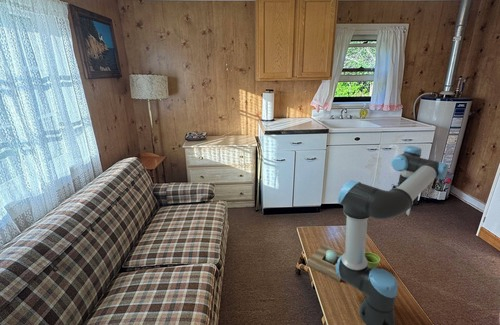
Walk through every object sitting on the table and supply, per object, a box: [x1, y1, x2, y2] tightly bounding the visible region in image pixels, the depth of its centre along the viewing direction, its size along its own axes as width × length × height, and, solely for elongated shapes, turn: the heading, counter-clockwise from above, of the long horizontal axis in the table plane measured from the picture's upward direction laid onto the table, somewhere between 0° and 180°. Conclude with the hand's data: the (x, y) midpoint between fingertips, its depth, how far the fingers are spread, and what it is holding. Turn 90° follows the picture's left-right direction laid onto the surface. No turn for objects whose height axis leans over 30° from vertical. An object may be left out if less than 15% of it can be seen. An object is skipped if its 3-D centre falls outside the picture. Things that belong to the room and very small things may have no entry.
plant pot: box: [365, 251, 381, 269], centre depth 152 cm, size 9×9×9 cm
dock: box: [306, 243, 345, 283], centre depth 157 cm, size 20×20×4 cm
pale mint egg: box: [325, 250, 337, 265], centre depth 156 cm, size 6×6×5 cm
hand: (400, 213), depth 148 cm, fingers open, 6 cm apart
